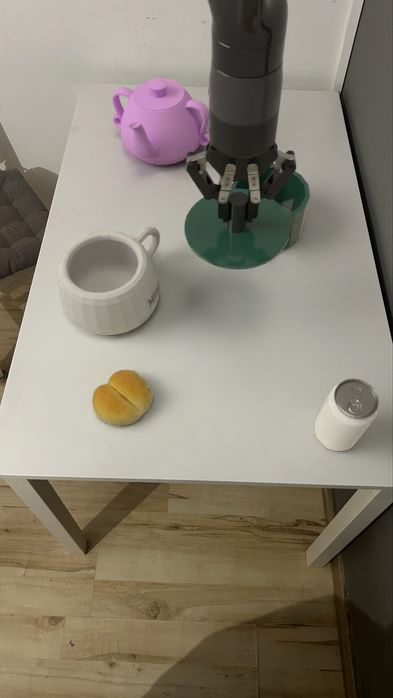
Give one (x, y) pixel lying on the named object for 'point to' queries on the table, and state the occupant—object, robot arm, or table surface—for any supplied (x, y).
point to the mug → (109, 281)
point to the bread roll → (122, 398)
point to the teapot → (160, 121)
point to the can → (346, 414)
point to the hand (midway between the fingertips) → (237, 217)
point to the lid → (237, 232)
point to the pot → (288, 201)
